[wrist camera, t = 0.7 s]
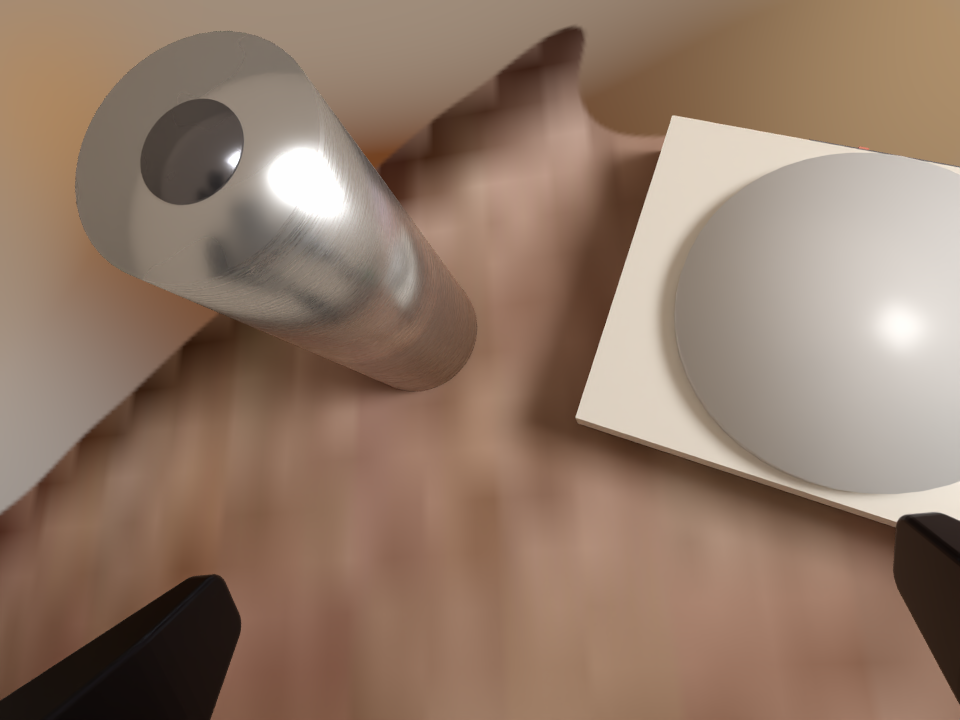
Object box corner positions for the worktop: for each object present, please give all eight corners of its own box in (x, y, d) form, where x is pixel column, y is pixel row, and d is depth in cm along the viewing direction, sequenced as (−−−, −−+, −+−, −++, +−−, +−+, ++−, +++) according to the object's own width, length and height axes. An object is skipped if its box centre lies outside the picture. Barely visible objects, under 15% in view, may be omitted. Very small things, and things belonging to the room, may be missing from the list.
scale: (1030, 571, 17) (1107, 589, 15) (577, 423, 21) (574, 416, 18) (1105, 222, 18) (1188, 180, 16) (669, 138, 22) (678, 93, 19)
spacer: (452, 407, 22) (252, 315, 9) (342, 370, 23) (32, 243, 10) (493, 290, 22) (358, 51, 10) (384, 259, 23) (137, 11, 11)
